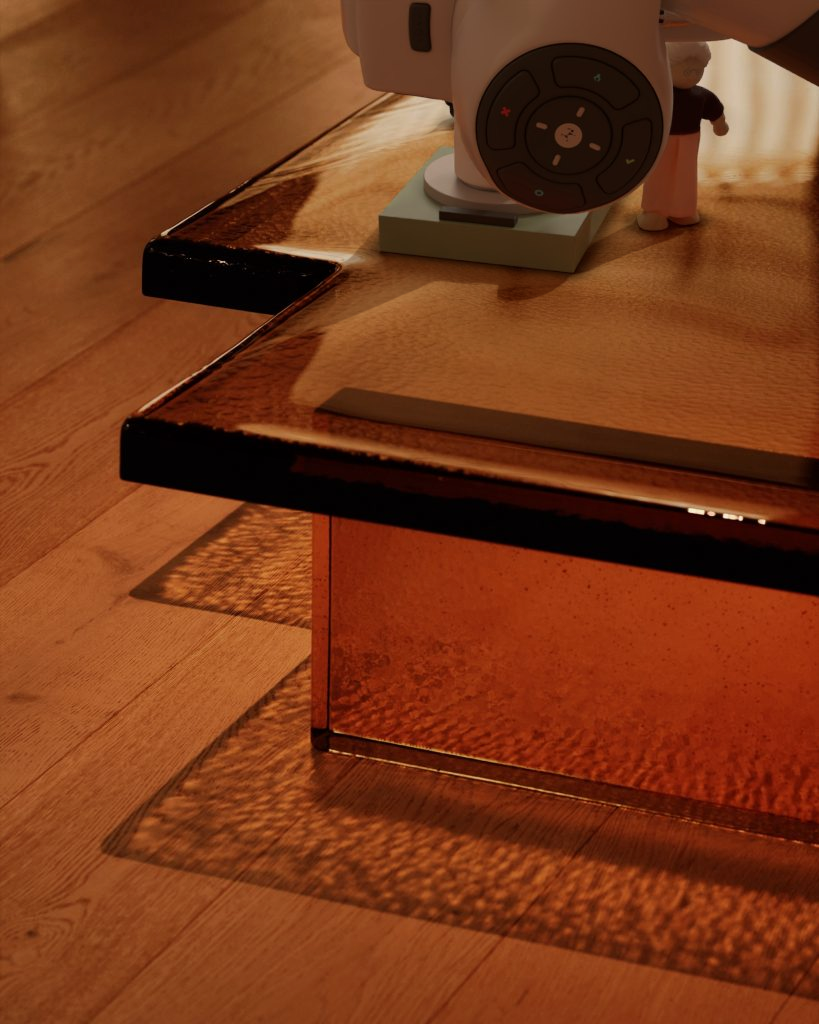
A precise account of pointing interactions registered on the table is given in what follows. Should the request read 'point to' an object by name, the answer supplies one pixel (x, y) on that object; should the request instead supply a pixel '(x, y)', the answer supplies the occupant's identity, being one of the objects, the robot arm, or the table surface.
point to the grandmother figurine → (682, 141)
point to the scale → (480, 223)
